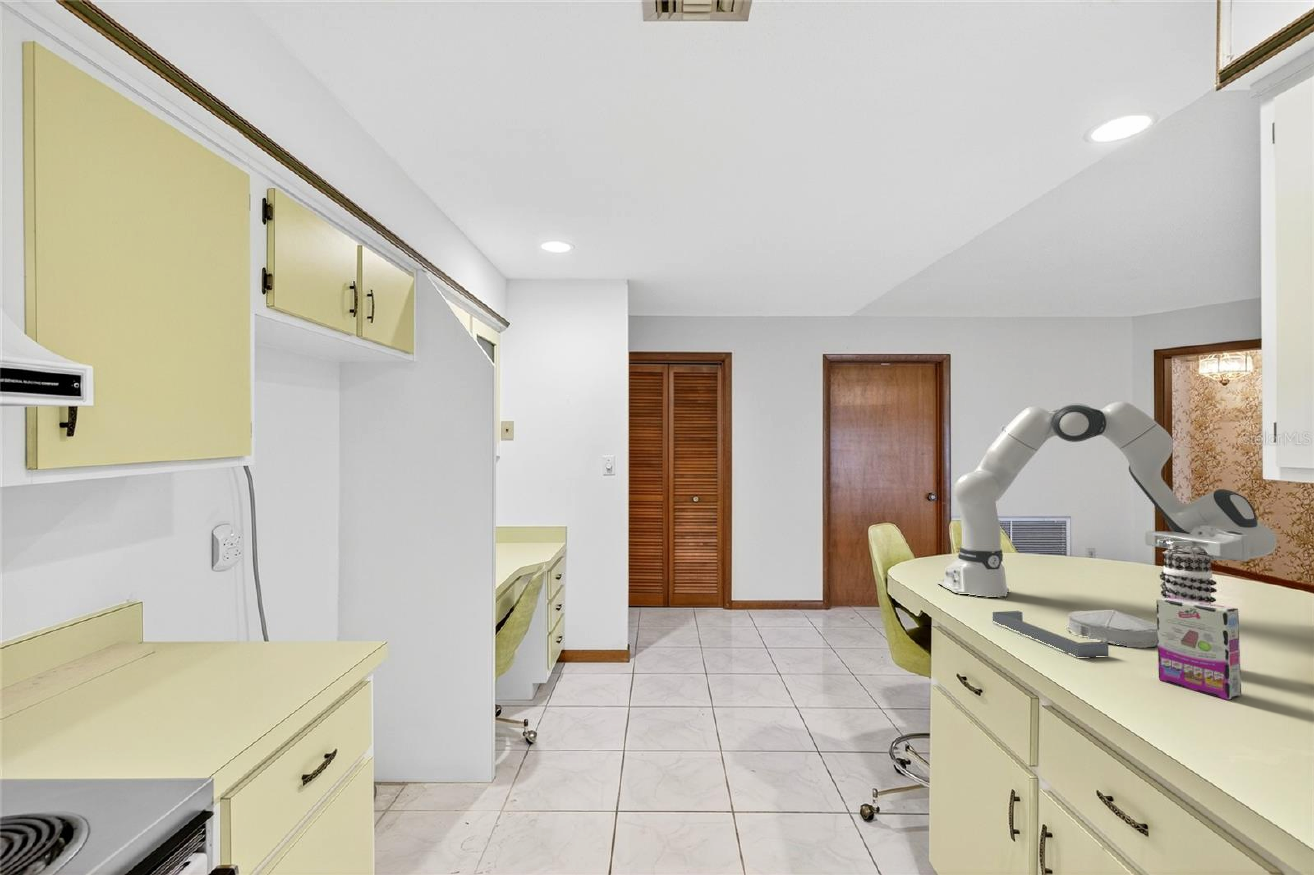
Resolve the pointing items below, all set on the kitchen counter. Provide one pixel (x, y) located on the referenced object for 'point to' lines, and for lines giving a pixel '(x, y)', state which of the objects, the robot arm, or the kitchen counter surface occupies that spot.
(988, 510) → the robot arm
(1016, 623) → the gray u-shaped pull
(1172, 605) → the candy bar box
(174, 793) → the kitchen counter surface
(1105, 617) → the food container
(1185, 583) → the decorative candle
